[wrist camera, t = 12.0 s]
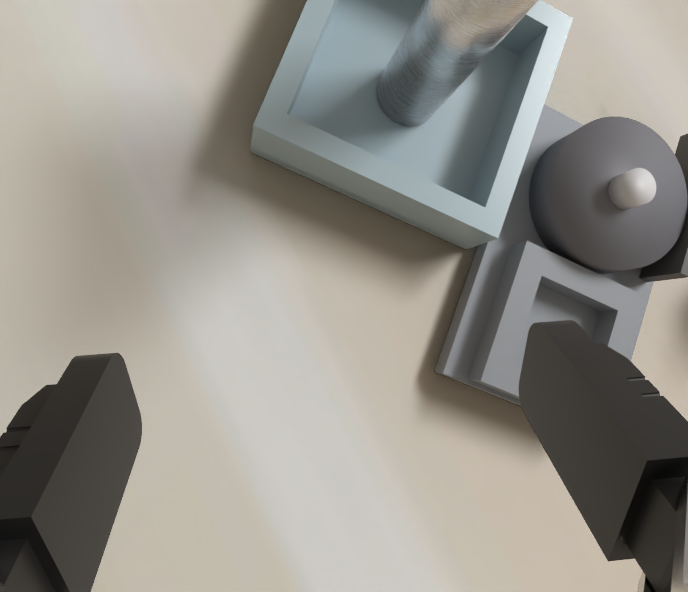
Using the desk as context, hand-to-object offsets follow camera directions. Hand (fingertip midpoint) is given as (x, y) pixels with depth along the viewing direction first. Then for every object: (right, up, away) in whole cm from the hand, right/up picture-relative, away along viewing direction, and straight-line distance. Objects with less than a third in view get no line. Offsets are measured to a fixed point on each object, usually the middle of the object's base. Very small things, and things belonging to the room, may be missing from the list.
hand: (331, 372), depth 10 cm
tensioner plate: (+11, +3, +15) cm, 19 cm away
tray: (+3, +11, +14) cm, 18 cm away
